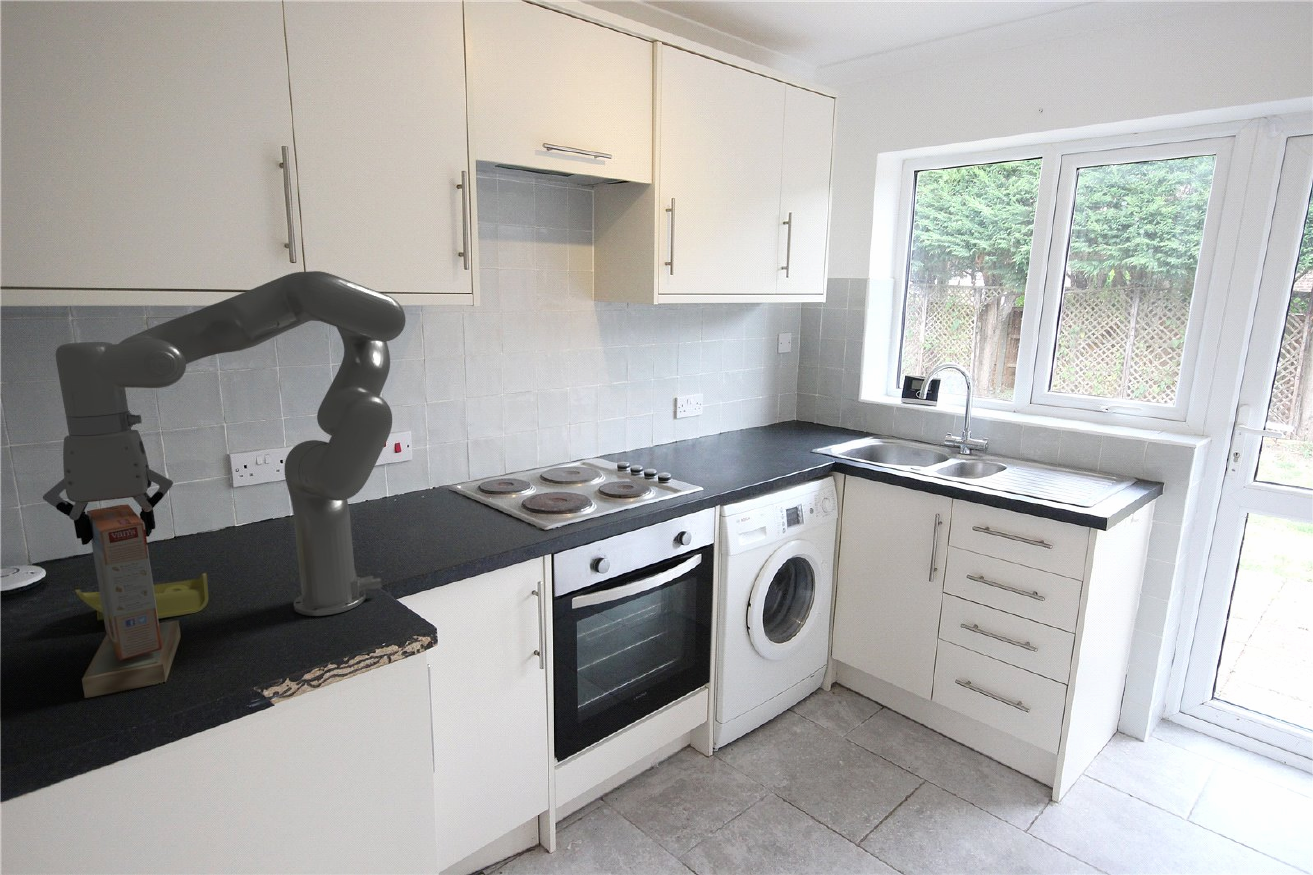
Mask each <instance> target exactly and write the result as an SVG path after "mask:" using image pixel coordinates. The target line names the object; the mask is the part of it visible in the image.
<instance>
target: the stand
mask: <svg viewBox="0 0 1313 875" xmlns="http://www.w3.org/2000/svg"><path fill="white" fill-rule="evenodd" d="M159 628H160V635H161V642H162V649H160V650H157V651H153V652H149V653H146V654H142V655H139V656H135V657H131V658H128V659H124V660H119V658H118V656H117V654H116V652H115V650H114V648H113V645H112V643H111V641H110V639H109V637H108V635H107V634H106V635H105V637H104V638H103V640H102V642H101V643H100V646H99V647H98V649H97V651H96V653H95V654H94V656H93V659H92V660H91V662H90V664H89V666H88V668H87V669H86V671H85V672H84V675H83V677H82V678H81V682H82V689H83V693H84V699H88V698H93V697H97V696H98V697H99V696H103V695H110V694H113V693H118V692H123V691H128V690H132V689H133V690H134V689H138V688H142V687H149V686H154V685H160V684H164V683H163V682H165V683H167V680H168V676H169V674H170V671H171V667H172V664H173V661H174V659H175V655H176V652H177V649H178V646H179V643H180V640H181V635H182V634H181V629H180V621H179V619H178V620H171V621H166V622H161V623H160V622H159ZM159 683H160V684H159Z"/></svg>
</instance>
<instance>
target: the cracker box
mask: <svg viewBox="0 0 1313 875" xmlns="http://www.w3.org/2000/svg"><path fill="white" fill-rule="evenodd" d="M86 514H87V515H89V519H90V525H91V531H92V540H91V541H90V543H91V546H92V547H91V549H92V554H93V559H94V565H95V566H94V567H95V570H96V571H95V572H96V578H97V584H98V590H99V591H98V592H100V598H101V604H102V610H103V616H104V620H103V623H104V629H105V632H106V635H108V637H109V639H110V641H111V643H112V645H113V648H114V650H115V652H116V654H117V656H118V658H119V660H124V659H128V658H131V657H135V656H139V655H142V654H146V653H149V652H153V651H157V650H160V649H162V642H161V635H160V628H159V623H160V622H159V619H158V615H157V608H156V601H155V594H154V587H153V585H154V582H153V581H154V580H153V574H152V567H151V563H150V562H151V561H150V555H149V547H148V539H147V537H146V531H145V525H144V522H143V521H142V520H141V519H140V515H138V514H137V513H136V512H135V511H134V510H133V508H132V507H131V505H129V504H119V505H114V506H113V505H112V506H106V507H101V508H95V509H89V510H87V511H86Z"/></svg>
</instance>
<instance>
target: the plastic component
mask: <svg viewBox="0 0 1313 875" xmlns="http://www.w3.org/2000/svg"><path fill="white" fill-rule="evenodd" d="M153 587H154V594H155V601H156V608H157V615H158V620H159V619H167V618H173V617H180V616H184V615H190V614H195V613H198V612H200V611H202V610H204V609H205V607H206V606H207V604H208V603H209V589H208V588H209V586H208V575H207V573H206V572H204V573H202V574H201V575H200V577H199V578H194V579H188V580H183V581H181V580H180V581H174V582H167V583H158V584H153ZM74 591H75V594H76V595H77V597H78V598H79V601H80V600H81V601H82V602H84V603H85V604H87V605H88V606H89V607H90V608H92V609H93V610H96V615H97V616H96V618H97V621H104V616H103V610H102V604H101V598H100V591H96V592H93V591H92V592H82V591H81V589H74Z"/></svg>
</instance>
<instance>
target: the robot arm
mask: <svg viewBox="0 0 1313 875" xmlns="http://www.w3.org/2000/svg"><path fill="white" fill-rule="evenodd" d="M311 321H312V322H321V323H325V324H327V325H330V326H333V327H335V328H336V329H337V332H338V333H339V336H340V337H341V340H342V344H343V356H342V357H343V358H342V360H341V364H340V366H339V367H338V368H339V369H338V371H337V373H336V374H335V376H334V379H333V380H332V382H331V384H330V386H329V388H328V390H327V392H326V393H325V395H324V398H323V399H322V401H321V403H320V405H319V408H318V410H317V414H316V420H317V423H318V426H319V427H320V429H321V430H322V431H323V432H324V433H325V434H327V435H329V436H330V439H329V441H328V442H327V441H324V440H318V439H311V440H305V441H303V442H302V441H301V442H300V443H298V444H297V445H294V447H293V448H291V450H290V451H289V452H288V454H287V455H286V458H285V461H284V467H283V468H284V469H283V470H284V478H285V482H286V485H287V486H286V488H287V490H288V494H289V497H290V502H291V507H292V513H293V514H292V516H293V522H294V532H295V533H294V535H295V540H296V541H295V543H296V552H297V562H298V569H299V570H298V571H299V579H300V588H301V589H300V590H301V594H300V595H299V596H297V597H296V598H295V599H294V601H293V609H294V611H295V612H296V613H298V614H300V615H303V616H309V617H324V616H330V615H331V616H332V615H336V614H340V613H343V612H347V611H349V610H352V609H354V608H356V607H358V606H359V605H361V604H362V603H363V602H364V601H365V600H366V590H370V589H371V590H375V589H379V588H383V585H382V578H381V577H376V578H374V575H369V576H364V577H361V576H358V574H357V571H356V569H355V560H354V558H355V557H354V550H353V549H354V548H353V538H352V536H353V535H352V528H351V527H352V526H351V514H350V508H349V502H348V500H349V499H352V498H353V497H354V496H356V495H357V494H358V493H359V492H360V491H361V490H362V489H363V488H364V486H365V485H366V483H367V482H368V480H369V478H370V476H371V474H372V473H373V470H374V468H375V466H376V463H377V462H378V460H379V458H380V456H381V454H382V452H383V450H384V448H385V445H386V444H387V441H388V439H389V437H390V434H391V432H392V427H393V413H392V410H391V407H390V405H389V404H388V402H387V401H386V400H385V399H384V398H383V397H382V396H380V395H381V393H382V391H383V388H384V386H385V384H386V382H387V379H388V376H389V373H390V368H391V357H390V355H391V354H390V349H389V345H388V343H387V342H390V341H392V340H395V339H396V338H398V337H399V336H400V335H401V334H402V333H403V331H404V329H405V326H406V315H405V311H404V309H403V307H402V305H401V304H400V303H399V302H398V301H397V300H396V299H395V298H393V297H392V296H389V295H387V294H385V293H382V292H380V291H377V290H374V289H371V288H369V287H366V286H364V285H361V284H358V283H355V282H354V281H350V280H348V279H346V278H343V277H340V276H338V275H335V274H332V273H329V272H325V271H321V270H320V271H319V270H311V271H296V272H292V273H288V274H285V275H283V276H280V277H278V278H276V279H275V278H274V279H273V280H270V281H268V282H266V283H263V284H261V285H259V286H256V287H254V288H252V289H249V290H247V291H243V292H242V293H240V294H237V295H234V296H232V297H229V298H227V299H224V300H222V301H219V302H216V303H213V304H211V305H207V306H205V307H203V308H201V309H199V310H196V311H193V312H189V313H187V314H184V315H182V316H179V317H176V318H174V319H173V318H172V319H170V320H168V321H165V322H163V323H161V324H158V325H155V326H153V327H150V328H148V329H145V330H143V331H141V332H138V333H135V334H133V335H130V336H128V337H127V338H124V339H123V340H121V341H120V342H119V343H115V344H113V343H111V342H108V341H107V342H106V341H86V342H83V341H82V342H71V343H65V344H61V345H59V346H58V347H57V348H56V349H55V360H56V361H55V362H56V366H57V372H58V373H57V374H58V379H59V383H60V384H59V385H60V390H61V396H62V402H63V407H64V413H65V419H66V425H67V426H66V427H67V432H68V435H66V436H64V439H63V447H62V448H63V452H62V453H63V454H62V457H63V458H62V462H63V478H62V479H61V480H60V481H59V482H57V483H56V484H55V485H54V486H52V488H51V489H49V490H48V491H47V492H46V493H44V494H43V495H42V499H43V500H44V501H45V502H47V504H49V505H50V506H52V507H54V508H56V510H57V511H59V512H61V513H63V514H64V515H65V516H67V517H69V519H70V520H72V521H73V525H74V531H75V536H76V539H78V540H79V539H80V540H81V545H83V546H84V545H88V544H90V543H91V540H92V531H91V525H90V519H89V515H87V512H86V508H87V507H88V504H89V503H91V502H93V503H94V502H101V501H102V502H103V501H110V500H112V501H113V500H119V499H122V500H123V499H128V498H130V499H131V498H132V499H133V500H134V501H135V502H136V503H137V504H138V506H140V508H141V511H140V513H139V517H140V519H141V520H142V521H143V522H144V525H145V531H146V538H147V537H150V536H151V533H153V530H155V529H156V520H155V513H154V508H155V507H156V505H158V503H160V501H161V500H162V499H163V498H164V497H165V495H167V493H168V492H169V490H170V489H171V488H172V486H173V485H174V481H173V480H171V479H169V478H168V477H166V476H164V475H162V474H160V473H158V472H157V471H154V470H152V469H150V465H149V461H148V457H147V453H146V449H145V445H144V442H143V439H142V437H141V435H140V432H139V430H138V429H132V428H133V426H135V425H137V424H138V425H139V424H142V416H141V414H133V413H132V412H131V411H130V410H129V406H128V400H127V393H126V388H131V389H132V388H133V389H134V388H136V389H137V388H138V389H142V388H143V389H162V388H167V387H170V386H172V385H174V384H175V383H177V382H178V381H180V380H181V379H182V377H183V376H184V375H185V372H186V368H187V365H188V364H191V363H194V362H196V361H198V360H201V359H204V358H208V357H210V356H215V355H218V354H220V355H221V354H225V353H232V352H239V351H243V350H246V349H247V350H248V349H250V348H253V347H256V346H258V345H260V344H262V343H264V342H267V341H269V340H271V339H273V338H275V337H277V336H279V335H282V334H283V333H286V332H288V331H290V330H292V329H295V328H297V327H299V326H301V325H304V324H306V323H308V322H311ZM152 482H153V484H156V485H158V487H159V488H158V489H157V490H156V491H155V492H154V494H152V495H150V494H148V490H149V488H151V487H152ZM63 491H65V493H66V497H67V499H68V500H69V501H68V500H65V499H63V497H61V495H60V494H61V493H63ZM71 502H73V503H74V504H73V503H71Z"/></svg>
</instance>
